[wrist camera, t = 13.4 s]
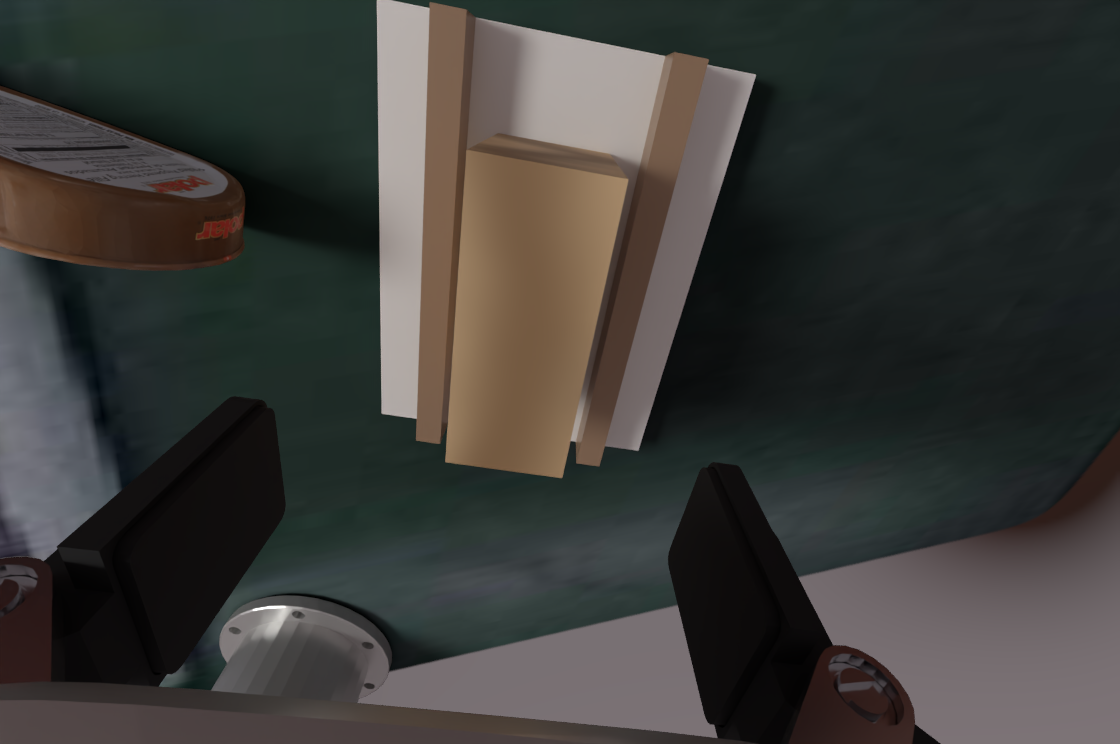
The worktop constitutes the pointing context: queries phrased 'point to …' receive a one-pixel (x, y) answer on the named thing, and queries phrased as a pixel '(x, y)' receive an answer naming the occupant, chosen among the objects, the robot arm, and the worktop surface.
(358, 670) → the robot arm
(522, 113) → the cradle
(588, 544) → the worktop surface
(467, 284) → the oak block
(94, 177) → the tin
